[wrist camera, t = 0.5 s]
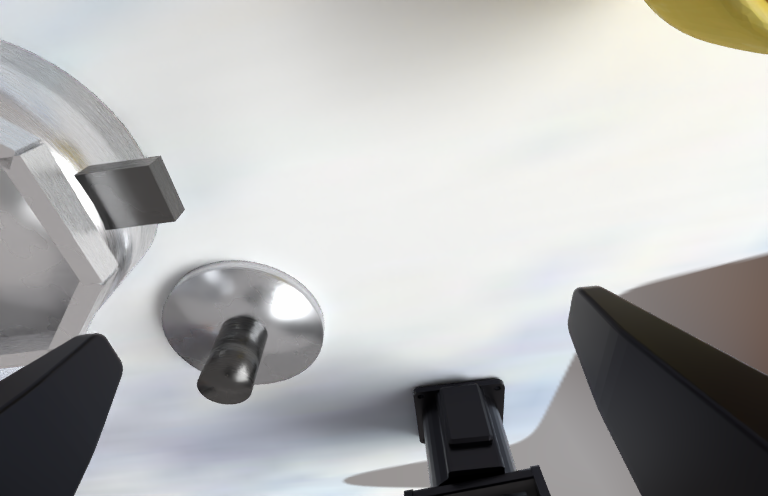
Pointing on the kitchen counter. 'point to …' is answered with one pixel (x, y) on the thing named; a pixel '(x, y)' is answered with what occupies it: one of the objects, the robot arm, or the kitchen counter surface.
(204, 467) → the kitchen counter surface
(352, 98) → the kitchen counter surface
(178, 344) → the lid
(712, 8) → the plant pot
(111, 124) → the pot
